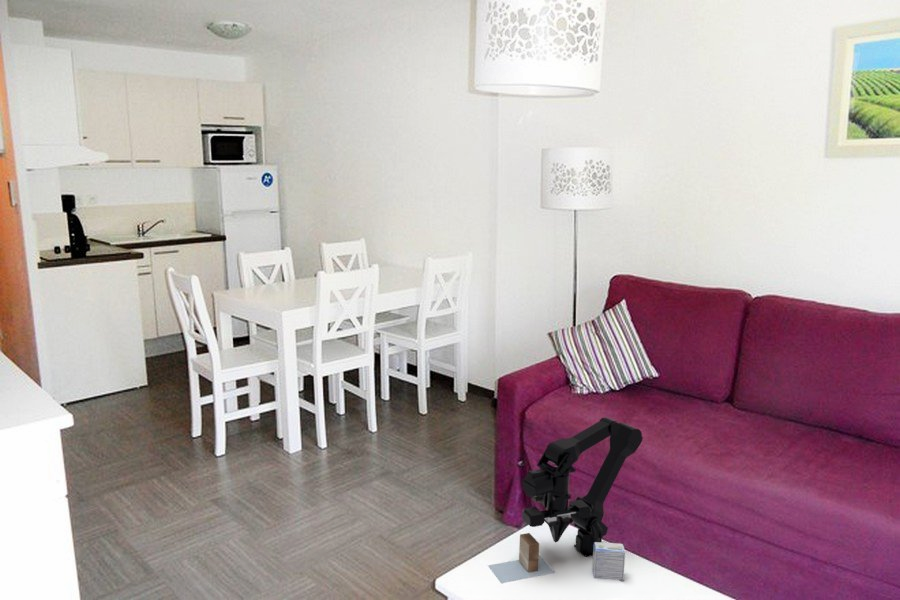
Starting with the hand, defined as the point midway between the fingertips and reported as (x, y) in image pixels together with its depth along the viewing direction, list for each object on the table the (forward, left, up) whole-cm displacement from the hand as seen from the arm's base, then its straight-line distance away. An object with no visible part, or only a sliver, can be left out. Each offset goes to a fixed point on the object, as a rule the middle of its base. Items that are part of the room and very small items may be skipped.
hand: (555, 541), depth 193 cm
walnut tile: (+8, 0, -6) cm, 10 cm away
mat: (+11, +1, -6) cm, 12 cm away
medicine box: (-10, +11, -7) cm, 16 cm away
